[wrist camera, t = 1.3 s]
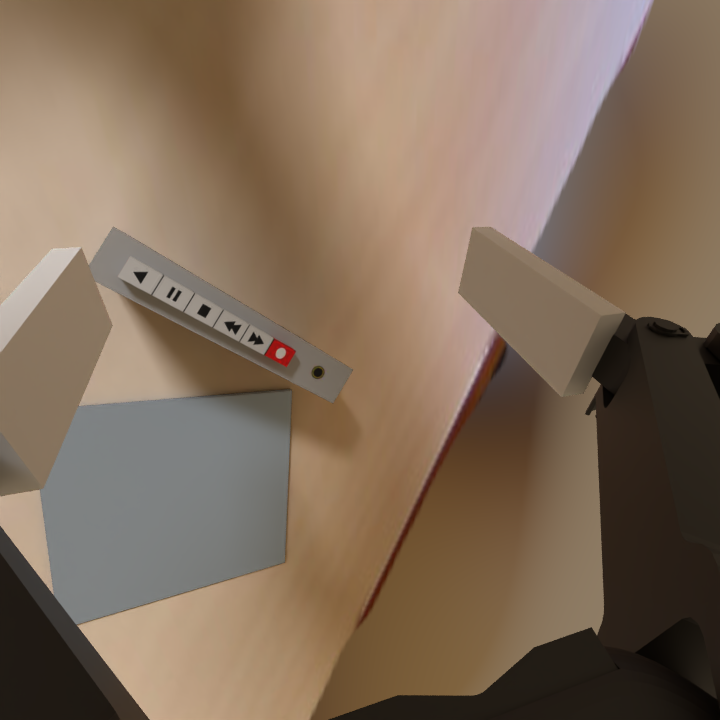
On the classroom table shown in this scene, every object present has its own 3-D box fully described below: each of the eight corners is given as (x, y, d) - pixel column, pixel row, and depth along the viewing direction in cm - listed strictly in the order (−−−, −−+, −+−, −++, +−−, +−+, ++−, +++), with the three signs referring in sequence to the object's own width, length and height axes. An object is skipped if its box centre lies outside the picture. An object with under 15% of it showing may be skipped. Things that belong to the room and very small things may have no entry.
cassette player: (307, 341, 34) (360, 373, 26) (291, 368, 34) (339, 408, 26) (122, 231, 26) (111, 225, 18) (101, 266, 26) (79, 276, 17)
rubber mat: (31, 410, 26) (29, 412, 26) (290, 389, 35) (291, 390, 34) (60, 624, 30) (58, 630, 30) (283, 559, 39) (284, 562, 39)
